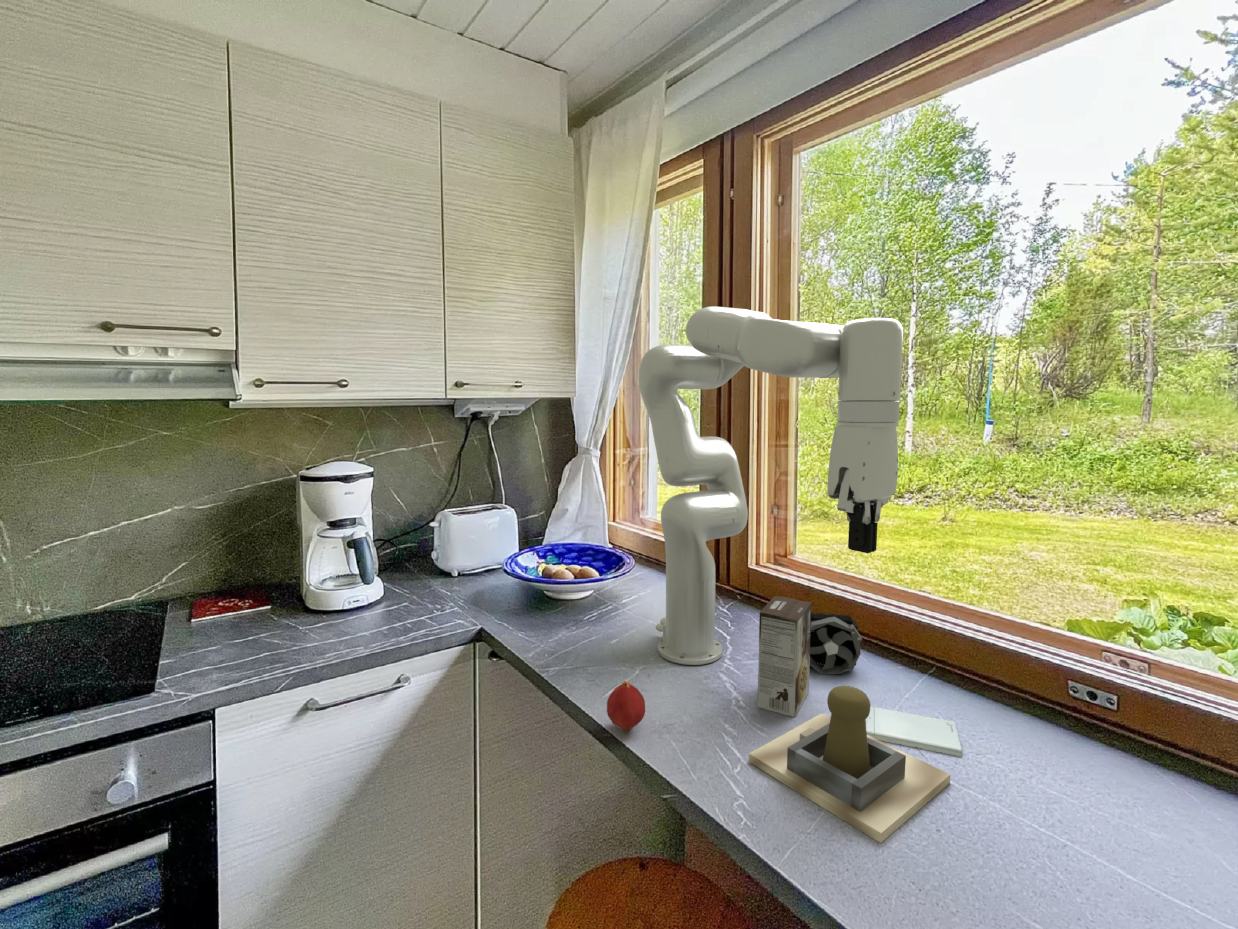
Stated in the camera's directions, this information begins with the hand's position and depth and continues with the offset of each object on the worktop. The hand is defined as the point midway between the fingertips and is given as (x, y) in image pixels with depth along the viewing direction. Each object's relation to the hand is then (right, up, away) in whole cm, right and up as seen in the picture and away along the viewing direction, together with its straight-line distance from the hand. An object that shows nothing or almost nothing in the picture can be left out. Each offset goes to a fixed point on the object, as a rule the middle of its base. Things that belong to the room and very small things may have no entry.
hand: (862, 550), depth 81 cm
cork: (-3, -29, -3) cm, 29 cm away
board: (-3, -29, -1) cm, 30 cm away
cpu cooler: (+6, -26, +29) cm, 39 cm away
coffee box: (-6, -28, +18) cm, 33 cm away
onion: (-32, -29, +9) cm, 44 cm away
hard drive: (+11, -29, +8) cm, 32 cm away
